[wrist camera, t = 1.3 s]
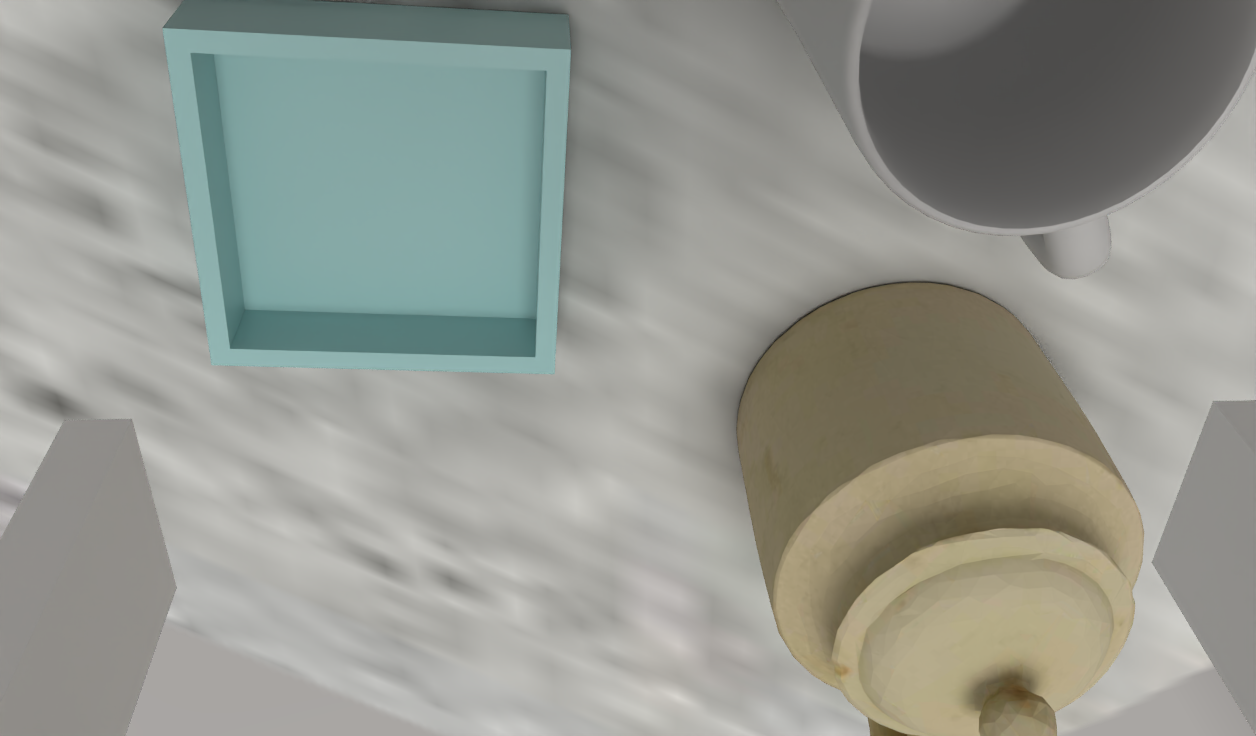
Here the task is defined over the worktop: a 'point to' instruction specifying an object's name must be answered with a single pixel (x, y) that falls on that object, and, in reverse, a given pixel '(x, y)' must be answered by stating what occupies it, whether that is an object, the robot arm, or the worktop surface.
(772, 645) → the worktop surface
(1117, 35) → the mug
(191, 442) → the worktop surface
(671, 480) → the worktop surface
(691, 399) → the worktop surface
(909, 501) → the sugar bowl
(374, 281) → the parts tray
